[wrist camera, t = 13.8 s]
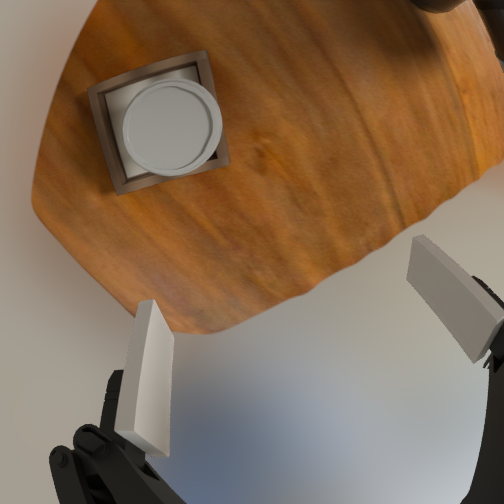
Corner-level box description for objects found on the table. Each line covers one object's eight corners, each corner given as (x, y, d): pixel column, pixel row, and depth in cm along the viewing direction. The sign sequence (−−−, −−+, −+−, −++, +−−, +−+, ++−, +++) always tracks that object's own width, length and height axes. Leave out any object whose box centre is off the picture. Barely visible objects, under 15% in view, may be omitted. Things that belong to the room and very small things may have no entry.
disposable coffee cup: (147, 85, 29) (119, 80, 19) (222, 85, 31) (227, 77, 20) (145, 155, 34) (119, 180, 24) (216, 155, 35) (219, 180, 25)
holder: (207, 52, 29) (207, 47, 26) (230, 161, 37) (232, 167, 34) (94, 88, 28) (84, 87, 26) (122, 190, 37) (115, 198, 34)
